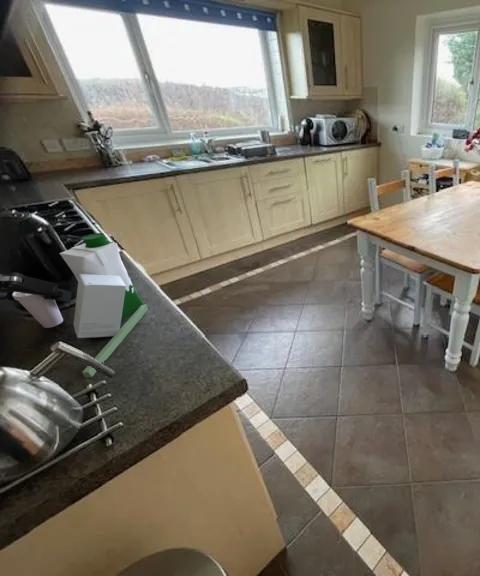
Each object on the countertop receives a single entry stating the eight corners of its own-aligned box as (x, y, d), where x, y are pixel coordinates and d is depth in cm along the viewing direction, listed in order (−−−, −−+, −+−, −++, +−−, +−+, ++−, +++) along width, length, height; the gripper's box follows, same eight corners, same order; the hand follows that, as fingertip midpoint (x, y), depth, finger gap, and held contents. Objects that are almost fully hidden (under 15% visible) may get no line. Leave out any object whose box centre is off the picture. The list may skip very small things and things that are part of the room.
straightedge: (85, 378, 65) (81, 372, 64) (143, 309, 86) (141, 304, 85) (91, 377, 65) (88, 371, 65) (148, 309, 86) (146, 304, 85)
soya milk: (150, 304, 88) (117, 234, 77) (118, 324, 80) (77, 249, 70) (125, 299, 90) (89, 230, 79) (91, 318, 82) (48, 245, 72)
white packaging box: (119, 336, 76) (127, 286, 74) (76, 338, 71) (82, 284, 68) (113, 322, 81) (120, 274, 78) (72, 324, 75) (78, 272, 73)
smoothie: (32, 325, 79) (-5, 274, 72) (65, 312, 84) (34, 263, 76) (40, 334, 76) (3, 283, 69) (74, 320, 81) (43, 270, 73)
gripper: (-131, 297, 56) (6, 317, 78) (-4, 288, 58) (95, 310, 81) (-120, 255, 58) (11, 286, 80) (3, 248, 60) (98, 281, 82)
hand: (53, 298), depth 80 cm, fingers closed on smoothie, 6 cm apart
